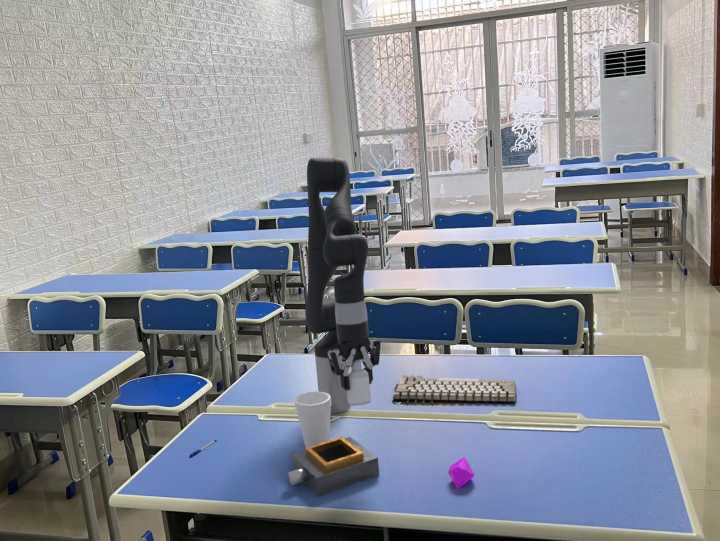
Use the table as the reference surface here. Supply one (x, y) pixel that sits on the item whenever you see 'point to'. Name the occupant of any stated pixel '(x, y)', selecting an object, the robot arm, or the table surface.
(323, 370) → the robot arm
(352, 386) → the eye dropper bottle
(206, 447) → the ballpoint pen
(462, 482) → the crystal
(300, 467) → the gearbox housing
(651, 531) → the table surface
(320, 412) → the foam cup
